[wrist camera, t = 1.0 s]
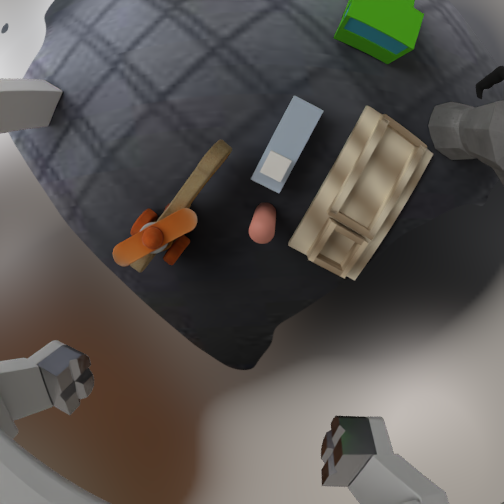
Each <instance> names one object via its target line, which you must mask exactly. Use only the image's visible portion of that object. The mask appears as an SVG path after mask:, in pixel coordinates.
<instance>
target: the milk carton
mask: <svg viewBox="0 0 504 504" xmlns="http://www.w3.org/2000/svg"><path fill="white" fill-rule="evenodd" d="M62 92H63V91H62V90H60V89H59V88H57V87H55V86H54V85H52V84H50V83H49V82H47V81H45V80H38V79H0V133H6V132H11V131H18V130H24V129H31V128H39V127H47V126H49V123H50V121H51V118H52V116H53V113H54V111H55V108H56V106H57V104H58V101H59V99H60V97H61V95H62Z"/></svg>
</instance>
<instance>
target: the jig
mask: <svg viewBox="0 0 504 504" xmlns="http://www.w3.org/2000/svg"><path fill="white" fill-rule="evenodd" d="M426 147H427V145H426V144H424V143H423V142H422V141H421V140H419V139H418V138H417V137H416V136H414V135H413V134H412V133H411V132H409V131H408V130H407V129H405V128H404V127H403V126H401V125H400V124H399V123H397V122H396V121H395V120H393V119H392V118H390V117H389V116H387V115H386V114H380V113H379V112H377V111H376V110H374V109H373V108H371V107H370V106H366V107H365V109H364V110H363V112H362V114H361V116H360V118H359V120H358V121H357V123H356V125H355V127H354V129H353V131H352V132H351V134H350V136H349V138H348V140H347V141H346V143H345V145H344V147H343V149H342V150H341V152H340V154H339V156H338V158H337V159H336V161H335V163H334V165H333V166H332V168H331V170H330V172H329V173H328V175H327V177H326V179H325V180H324V182H323V184H322V186H321V187H320V189H319V191H318V193H317V194H316V196H315V198H314V200H313V201H312V203H311V205H310V207H309V208H308V210H307V212H306V213H305V215H304V217H303V219H302V220H301V222H300V224H299V225H298V227H297V229H296V230H295V232H294V234H293V235H292V237H291V239H290V241H289V242H288V246H290V247H292V248H294V249H296V250H298V251H300V252H301V253H303V254H305V255H307V256H308V260H310V261H312V262H314V263H316V264H318V265H319V266H321V267H323V268H325V269H327V270H329V271H331V272H333V273H335V274H337V275H339V276H341V277H342V278H345V277H346V276H347V277H349V278H351V279H353V280H355V279H356V278H357V277H358V275H359V274H360V272H361V271H362V270H363V268H364V267H365V265H366V264H367V263H368V261H369V260H370V258H371V257H372V255H373V254H374V252H375V251H376V249H377V248H378V246H379V245H380V243H381V242H382V240H383V239H384V237H385V236H386V234H387V233H388V231H389V230H390V228H391V226H392V225H393V223H394V222H395V220H396V218H397V217H398V215H399V214H400V212H401V210H402V209H403V207H404V205H405V204H406V202H407V200H408V199H409V197H410V195H411V194H412V192H413V190H414V188H415V187H416V185H417V183H418V181H419V180H420V178H421V176H422V174H423V172H424V171H425V169H426V167H427V165H428V163H429V161H430V159H431V158H432V156H433V153H431V152H430V151H429V150H428V149H427V148H426Z"/></svg>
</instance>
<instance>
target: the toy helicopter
mask: <svg viewBox="0 0 504 504" xmlns="http://www.w3.org/2000/svg"><path fill="white" fill-rule="evenodd" d="M231 151H232V148H231V147H230V146H229V145H228V144H227V143H225V142H224V141H223V140H218V141H217V142H216V143H215V144H214V145H213V146H212V147H211V148H210V150H209V151H208V152H207V153H206V154H205V156H204V157H203V158H202V160H201V161H200V162H199V164H198V166H197V167H196V169H195V170H194V171H193V173H192V174H191V176H190V177H189V178H188V180H187V181H186V182H185V184H184V185H183V186H182V188H181V189H180V191H179V192H178V193H177V195H176V196H175V198H174V199H173V201H172V202H171V203H170V204H168V205H167V206H166V207H165V209H164V213H163V214H162V215H161V216H160V218H159V219H158V220H157V222H156V219H157V214H156V213H155V212H154V211H152V210H151V209H147V210H145V211H144V212H143V213H142V214H141V215H140V216H139V218H138V219H137V220H136V222H135V223H134V225H133V227H132V229H131V235H132V237H130V238H128V239H126V240H125V241H123V242H121V243H119V244H118V245H116V246H115V248H114V249H113V258H114V260H115V262H116V263H117V264H118V265H120V266H128V265H130V266H131V267H133V268H134V269H135V270H137V271H138V272H142V271H143V270H144V269H145V268H146V267H147V265H148V264H149V263H150V261H151V260H152V259H153V257H154V256H155V255H156V253H159V252H161V251H164V250H167V249H168V250H167V252H166V254H165V255H164V257H163V259H164V261H166V262H167V263H168V264H169V265H173V264H174V263H175V262H176V260H177V259H178V258H179V256H180V255H181V254H182V252H183V251H184V250H185V248H186V247H187V246H188V245H189V243H190V239H189V238H187V237H186V236H185V235H184V234H186V233H188V232H190V231H192V230H193V229H194V228H195V227H196V225H197V216H196V214H195V212H194V211H193V210H191V209H189V208H190V207H191V203H192V202H193V200H194V199H195V198H196V196H197V195H198V194H199V192H200V191H201V190H202V188H203V187H204V186H205V184H206V183H207V182H208V181H209V179H210V178H211V177H212V175H213V174H214V173H215V172H216V171H217V170H218V168H219V167H220V166H221V165H222V164H223V162H224V161H225V160H226V158H227V157H228V156H229V154H230V153H231ZM176 238H177V239H176ZM174 239H176V240H174ZM173 240H174V241H173Z"/></svg>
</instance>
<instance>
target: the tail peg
mask: <svg viewBox="0 0 504 504" xmlns="http://www.w3.org/2000/svg"><path fill="white" fill-rule="evenodd" d="M275 222H276V209H275V207H274V206H273V205H272V204H270V203H261V204H259V205H258V206H257V207H256V210H255V212H254V215H253V218H252V221H251V224H250V227H249V235H250V237H251V239H252V240H253V241H255V242H257V243H260V244H264V243H268V242H269V241H271V240H272V238H273V237H274V234H275Z"/></svg>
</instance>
